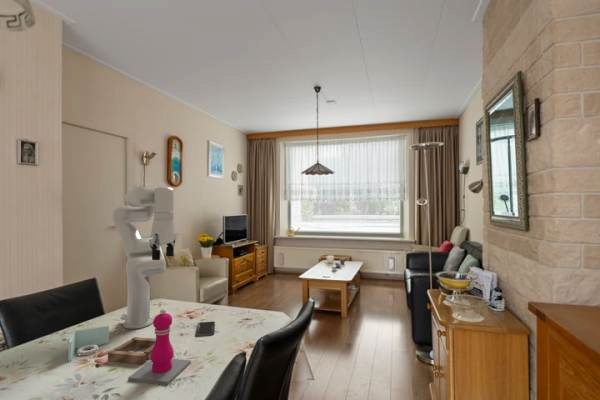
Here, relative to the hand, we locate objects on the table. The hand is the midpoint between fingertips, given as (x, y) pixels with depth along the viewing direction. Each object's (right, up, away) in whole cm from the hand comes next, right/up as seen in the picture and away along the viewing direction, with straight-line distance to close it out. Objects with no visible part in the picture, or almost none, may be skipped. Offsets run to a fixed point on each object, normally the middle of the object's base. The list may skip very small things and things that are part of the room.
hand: (163, 258), depth 132 cm
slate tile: (+10, -34, -25) cm, 43 cm away
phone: (+14, -35, +12) cm, 40 cm away
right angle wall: (-24, -35, -10) cm, 43 cm away
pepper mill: (+10, -33, -25) cm, 43 cm away
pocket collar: (-4, -34, -12) cm, 36 cm away
